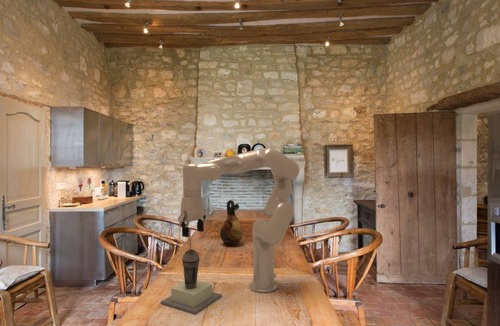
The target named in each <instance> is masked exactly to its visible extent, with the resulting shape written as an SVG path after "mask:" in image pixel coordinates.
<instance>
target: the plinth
mask: <svg viewBox="0 0 500 326" xmlns="http://www.w3.org/2000/svg"><path fill="white" fill-rule="evenodd" d="M170 291H171V295H170V296H168V297H166V298H165V299H162V300H161V301H160V305H163V306H166V307H170V308H172V309H176V310H179V311H182V312H185V313H188V314H192V315H197V314H199V313H200V312H203V310H205V309H206V308H208V307H209V306H211V305H212V304H214V303H215V302H217V301H219V300H220V299H221V298H222V297H223V294H221V293H217V292H214V291H213V284H212V283H209V282H206V281H205V282H204V281H200V280H197V284H196V288H194V289H186V288H185V281H183V282H181V283H179V284H177V285H174V286H173V287H171V289H170Z"/></svg>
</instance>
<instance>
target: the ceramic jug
mask: <svg viewBox="0 0 500 326" xmlns="http://www.w3.org/2000/svg"><path fill="white" fill-rule="evenodd" d="M239 209H240V206H239V203H236V204H235V201H234V200H232V199H229V200H228V201H227V202H226V215H227V217H226V218H225V220H224V222H222V225H221V227H220V231H219V235H220V236H219V237H220V239H221V241H222V243H223V246H225V247H226V248H228V247H230V248H234V247H237V246H238V244H239V243H240V242H241V240H242V239H243V234H244V233H243V232H244V231H243V226H242V224H241V221H240V220H239V218H238V216H237V214H236V211H237V210H239Z"/></svg>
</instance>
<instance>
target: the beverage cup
mask: <svg viewBox="0 0 500 326" xmlns="http://www.w3.org/2000/svg"><path fill="white" fill-rule="evenodd" d="M200 260H201V259H200V255H199V253H198V252H197V251H196V250H194V249H192V239H191V238H189V249H188V250H186V251H185V252H184V253H183V254H182V259H181V262H182V266H183V277H184V279H183V280H184V282H185V288H186V289H194V288H196V284H197V281H198V271H199V265H200Z"/></svg>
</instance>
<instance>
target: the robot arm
mask: <svg viewBox="0 0 500 326" xmlns="http://www.w3.org/2000/svg"><path fill="white" fill-rule="evenodd" d="M261 168H269V169H270V171H271V174H272V176H273V180H274V186H273V189H272V191H271V193H270V194H269V197H268V200H267V201H266V203H265V206H264V209H263V210H264V211H263V212H264V214H265V215H266V217H268V218H270V219H268V218H267V219H266V218H258V219H256V221H255V220H254V223H252V227H251V235H252V237H251V238H252V242H253V243H252V244H253V259H252V260H253V262H252V263H253V265H252V266H253V267H252V268H253V269H252V270H253V272H252V273H253V275H252V277H253V279H252V281H251V282H250V283H249V288H250V290H252V291H253V292H257V293H266V294H267V293H272V292H274V291H276V290H277V289H278V284H277V283H276V282H275V278H276V277H277V273H275V245H278V244H279V243H281V241H282V240H283V239H284V236H285V235H286V233H287V230H288V229H289V226H290V224H291V223H292V219H293V217H294V207H293V205H292V204H291V203H290V202H289V199H290V197H291V194H292V191H293V183H292V180H294V179H297V178H298V176H299V174H300V167H299V164H297V162H295V160H293V159H292V158H290V157H288V156H287V155H285V154H283V153H282V152H280V151H279V150H277V149H275V148H271V147H267V148H266V147H265V148H264V147H262V148H257V149H254V150H250V151H246V152H245V151H244V152H243V153H242V152H241V153H237V154H234V155H230V156H225V157H221V158H216V159H212V160H208V161H205V162H202V163H200V164H199V163H184V164H183V165H182V188H183V189H182V193H183V194H182V195H183V196H182V197H181V201H180V215H179V216H178V217H177V221H178V224H179V225H180V227H181V236H182V237H184V238H189V237H190V227H189V225H190V223H192V222H195V221H197V222H196V230H197V232H199V233H203V232H205V231H204V230H205V229H204V228H205V227H204V225H205V221H206V220H205V219H206V218H207V217H206V215H207V210H206V209H204V201H203V194H202V193H203V192H202V181H209V182H212V181H216V180H218V179H219V178H220V176H223V175H229V174H243V173H246V172H250V171H253V170H254V171H255V170H258V169H261Z"/></svg>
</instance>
